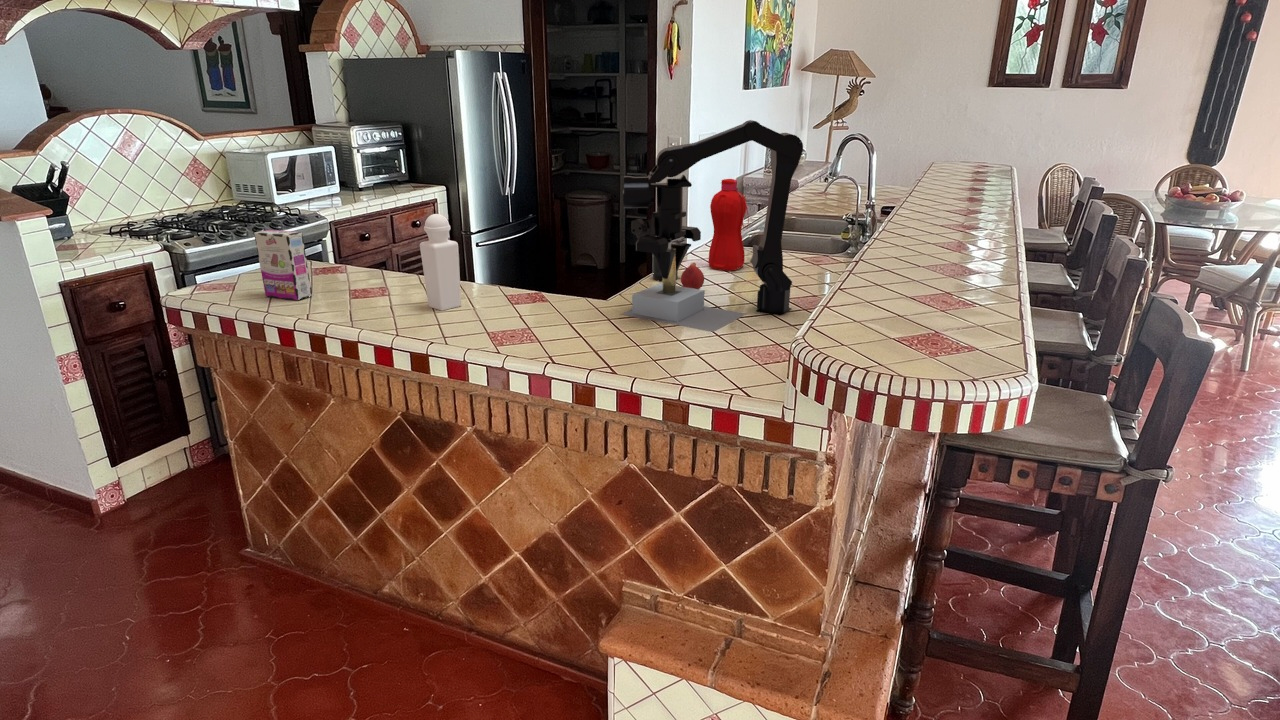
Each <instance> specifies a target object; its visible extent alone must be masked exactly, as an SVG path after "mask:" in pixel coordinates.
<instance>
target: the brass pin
mask: <svg viewBox="0 0 1280 720" xmlns="http://www.w3.org/2000/svg"><path fill="white" fill-rule="evenodd" d="M671 249H673V250H676V248H674V247H671ZM676 281H677V279H676V251H675V255H674V258H673V262H672V266H671V269H670V273H669V276H668V278H667V279H664V278H663V281H662V284H663V293H668V294H671V293H675V292H676V286H677V285H676Z"/></svg>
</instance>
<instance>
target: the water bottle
mask: <svg viewBox="0 0 1280 720" xmlns="http://www.w3.org/2000/svg"><path fill="white" fill-rule="evenodd" d="M720 184H721V189H720V190H719V191H718V192H716V193H714V195H713V196H712V199H711V200H710V206H709V208H710V214H711V215H710V216H711V221H712V226H713V235H712V238H711V239H712V240H711V243H710V246H709V247H710V248H709V253H708V260H707V261H708V262H707V263H708V267H709V268H711V269H713V270H719V271H726V272H727V271H728V272H730V271H731V272H732V271H736V270H738V269H741V268H742V267H743V266H744V265H745V261H746V260H745V258H746V257H745V248H744V242H743V235H742V228H743V229H746V228H748V227H749V223H750V222H749V221H750V219H749V216H747V227H745V226H744V219H745V216H746V214H747V215H749V211H748V210H749V209H748V206H747V201H746V197H745V196H744V194H743V193H742V192H740V191H739V187H738V180H737V179H733V178H724V179H721V183H720ZM746 212H747V213H746Z"/></svg>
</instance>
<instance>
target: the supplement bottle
mask: <svg viewBox="0 0 1280 720" xmlns="http://www.w3.org/2000/svg"><path fill="white" fill-rule="evenodd" d="M655 237H658V236H655ZM666 240H667V239H666ZM653 273H654V274H653ZM678 274H679V271H677V273H676V280H677V279H678ZM652 279H653V280H655V281H657V280H659V281H658V282H663V277H662V274H661V271H660V268H659V265H658V262H657V259H656V257H655V256H654V255H653V254H652Z"/></svg>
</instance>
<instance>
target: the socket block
mask: <svg viewBox="0 0 1280 720" xmlns="http://www.w3.org/2000/svg"><path fill="white" fill-rule="evenodd" d="M631 300H632V301H631V302H632V306H631V309H632V313H633V314H638V315H643V316H649V317H654V318H659V319H665V320H670V321H675V322H678V321H680V320H682V319H684V318H686V317H689V316H691V315H693V314H695V313H697V312H699V311H701V310H703V309H704V306H705V290H704V289H701V288H700V289H693V288H687V287H683V286H681V285H676V292H675V293H671V294H668V293H663V282H662V283H658V284H655V285H653V286H650V287H647V288H645V289H642V290H640V291H637V292H635V293H632V295H631Z"/></svg>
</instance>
